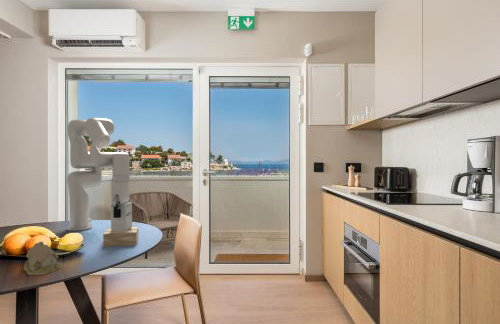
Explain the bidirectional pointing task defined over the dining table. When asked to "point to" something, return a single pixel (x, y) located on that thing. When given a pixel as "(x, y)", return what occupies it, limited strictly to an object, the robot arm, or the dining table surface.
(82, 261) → the dining table surface
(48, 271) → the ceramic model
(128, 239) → the maple riser block
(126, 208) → the supplement box
